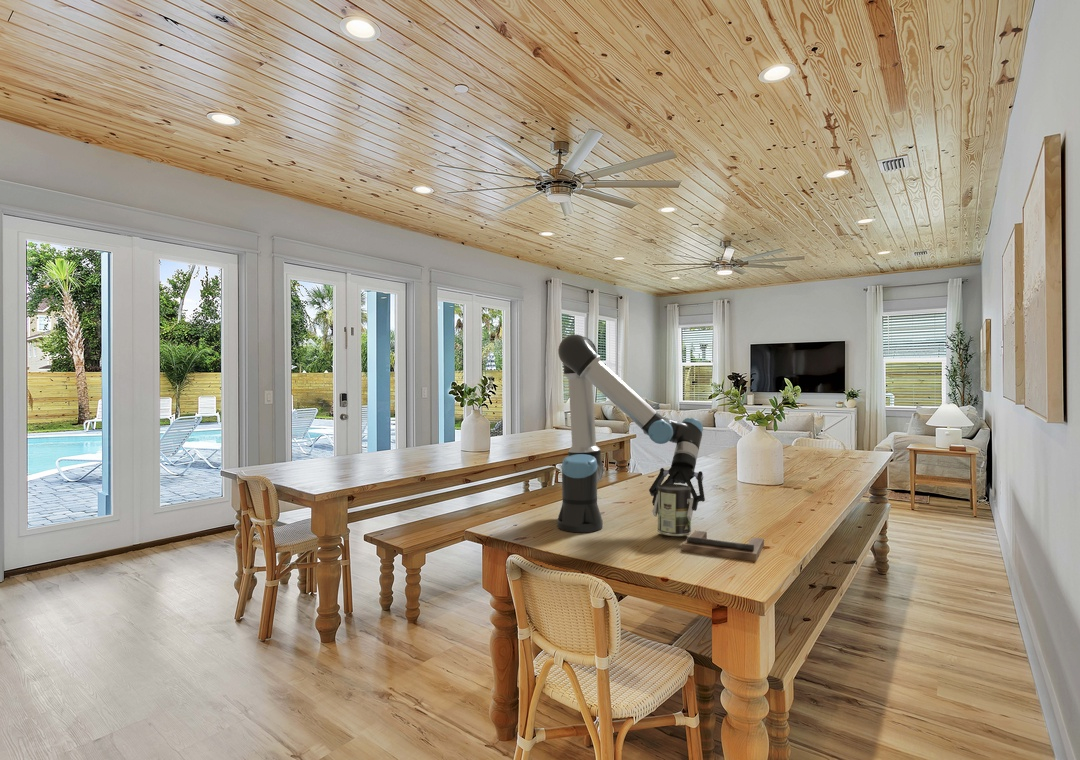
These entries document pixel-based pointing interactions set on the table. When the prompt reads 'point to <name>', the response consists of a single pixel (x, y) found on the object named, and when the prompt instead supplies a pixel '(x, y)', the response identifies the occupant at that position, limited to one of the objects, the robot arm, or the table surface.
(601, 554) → the table surface
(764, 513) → the table surface
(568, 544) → the table surface
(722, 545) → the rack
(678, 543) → the table surface
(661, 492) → the coffee can
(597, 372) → the robot arm
